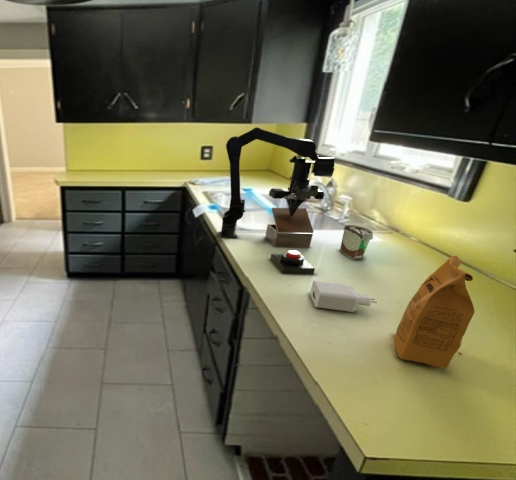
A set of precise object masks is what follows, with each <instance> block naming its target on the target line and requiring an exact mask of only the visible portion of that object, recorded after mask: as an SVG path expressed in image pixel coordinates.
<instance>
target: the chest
mask: <svg viewBox="0 0 516 480" xmlns="http://www.w3.org/2000/svg"><path fill="white" fill-rule="evenodd" d="M264 236H265V239H266V240H267V241H268V242H269V243H270V244H271V245H272V246H273V247H275V248H276V247H277V248H310V247H311V244H312V239H313V236H314V232H313V233H280V232H277V229H276V225H275V223H274V224H273V223H268V224H267V226H266V230H265V235H264Z"/></svg>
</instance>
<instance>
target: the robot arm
mask: <svg viewBox="0 0 516 480" xmlns="http://www.w3.org/2000/svg"><path fill="white" fill-rule="evenodd" d="M256 140H258V141H262V142H264V143H268V144H271V145H274V146H278V147H282V148H284V149H286V150H289V151H291V152H293V153H294V154H296V155H298V156H300V157H297V156H296V155H294V156H293V157H292V158H290V159H288V161H289V163H291V164H293V167H292V173H291V176H289V180H290V183H289V186H288V187H287V190H284V189H282V188H277V187H275V188H273V187H272V188H271V189H270V190H269V191H268V196H269V197H271V198H272V199H275V200H276V199H277V200H278V199H279V200H280V199H284V200H285V201H286V204H287V208H289V213H290V216H293V215H294V214H295V212H296V210H297V209H298V208H300V207H301V205H302V204H304V203H305V202H308V200H310V199H311V197H313V198H314V200H324V199H325V198H324V197H325V192H324V190H320V189H319V187H320V186H319V185H318V184H313V185H310V179H309V176H310V172H311V174H313V176H314V177H322V178H332V176H333V174H334V172H335V161H336V158H335V157H330V156H329V157H319V155H318V154H317V152H316V151H317V145H316V143H315V142H314V141H312V140H311V139H307V138H299V137H289V136H286V135H282V134H279V133H276V132H273V131H269V130H266V129H263V128H260V127H258V126H256V127H254V128H252V129H251V130H249V131H247V132H245V133H243V134H241V135H239V136H236V135H234V136H231V137H230V138H229V139H228V140H227V142H226V144H225V149H226V153H227V156H228V158H227V159H228V161H229V177H230V179H229V180H230V181H229V182H230V202H229V208H228V210H226V211H225V212H224V213H223V215H222V218H221V219H222V223H221V228H220V229H221V230H220V231H218V234H219V236H220V237H221V238H227V239H228V238H229V239H230V238H233V239H236V238H238V235H237V234H236V230H237V223H238V221H239V220H241V219H242V218H243V216H244V213H246V206H245V203H246V199H245V198H244V199H242V196H241V195H242V194H241V161H240V160H241V155H242V150H243V149H242V148H243V147H245V146H247V145H248V144H250V143H252V142H253V141H256ZM307 158H309V160H307Z"/></svg>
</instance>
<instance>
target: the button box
mask: <svg viewBox="0 0 516 480" xmlns="http://www.w3.org/2000/svg"><path fill="white" fill-rule="evenodd" d="M287 252H288V251H286V252H282V254H281V253H270V258H269V260H270V262H272V264H273V265H274V266H275V267H276V268H277V269H278V270H279V271H280V273H281V274H283V275H284V274H285V275H314V274H315V271H316V268H315V267H314V266H313V265H312V264H311V263H310V262H309V261H307V260H306V259H305V258H306V257H305V256H304V255H303V254H300V258H298V259H294V258H289V257H287Z"/></svg>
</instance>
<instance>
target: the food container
mask: <svg viewBox="0 0 516 480" xmlns="http://www.w3.org/2000/svg"><path fill="white" fill-rule="evenodd" d="M373 239H374V233H373V230H371V229H370V228H367V227H365V226H364V227H363V226H359V225H355V224H354V225H353V224H345V225H344V227H343V234H342V238H341V243H340V248H339V252H341V253H342V254H344V255H345V256H347V257H348V258H350V259H351V260H353V261H359V260H362V259H363V257H364V255H365V253H366V250H367V247H368V245H369V243H370V241H371V240H373Z"/></svg>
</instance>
